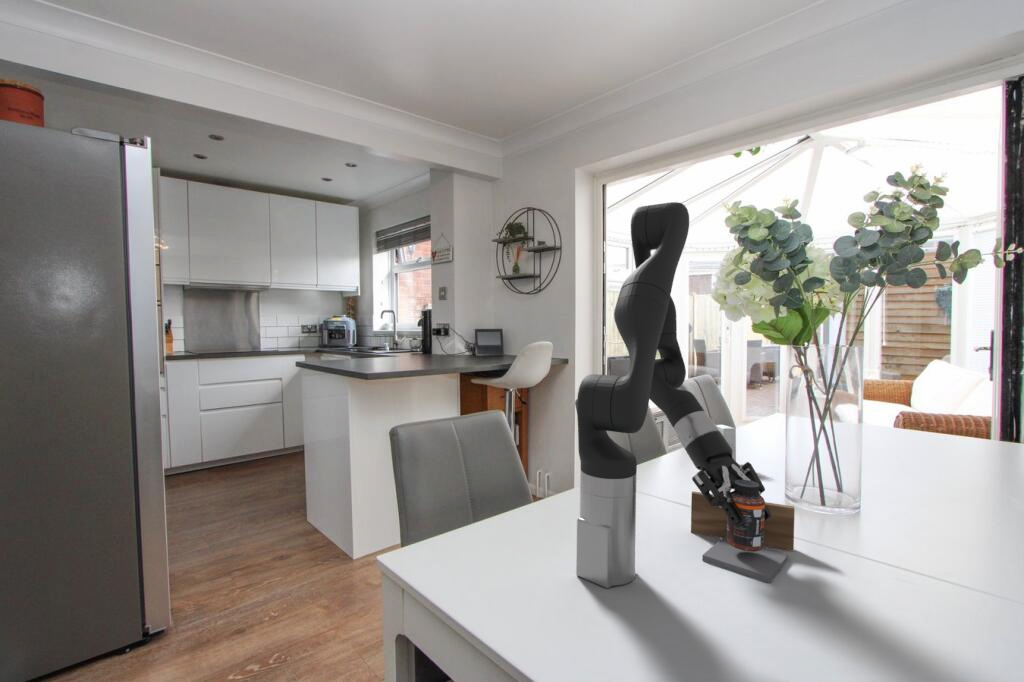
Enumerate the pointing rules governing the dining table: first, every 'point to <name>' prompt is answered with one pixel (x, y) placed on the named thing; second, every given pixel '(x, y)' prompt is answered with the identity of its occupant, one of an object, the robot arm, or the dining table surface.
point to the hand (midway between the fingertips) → (754, 521)
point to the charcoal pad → (746, 560)
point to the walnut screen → (715, 522)
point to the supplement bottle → (747, 517)
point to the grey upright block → (729, 437)
